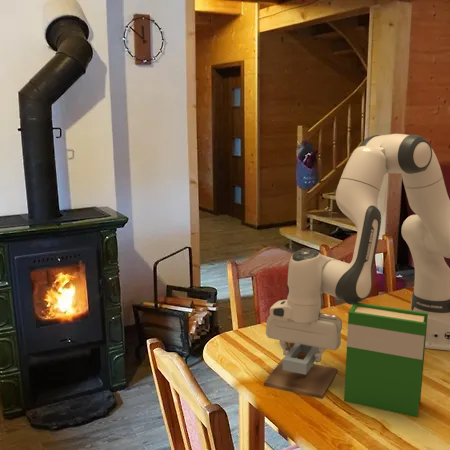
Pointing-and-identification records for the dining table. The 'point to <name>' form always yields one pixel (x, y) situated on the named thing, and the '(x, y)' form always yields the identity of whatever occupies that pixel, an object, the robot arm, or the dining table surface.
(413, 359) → the hardback book
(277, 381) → the post fixture
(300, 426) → the dining table surface
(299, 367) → the grey rectangular frame
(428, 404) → the dining table surface
